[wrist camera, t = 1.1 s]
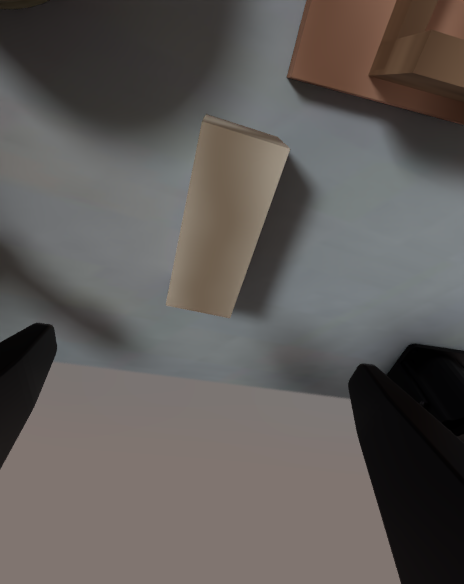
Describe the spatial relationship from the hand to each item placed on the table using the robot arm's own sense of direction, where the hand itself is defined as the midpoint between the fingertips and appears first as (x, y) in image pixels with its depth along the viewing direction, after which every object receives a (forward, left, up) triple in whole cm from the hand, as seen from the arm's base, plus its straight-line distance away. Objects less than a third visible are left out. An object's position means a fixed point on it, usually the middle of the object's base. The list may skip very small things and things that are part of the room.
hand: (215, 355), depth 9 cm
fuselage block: (0, 0, -12) cm, 12 cm away
